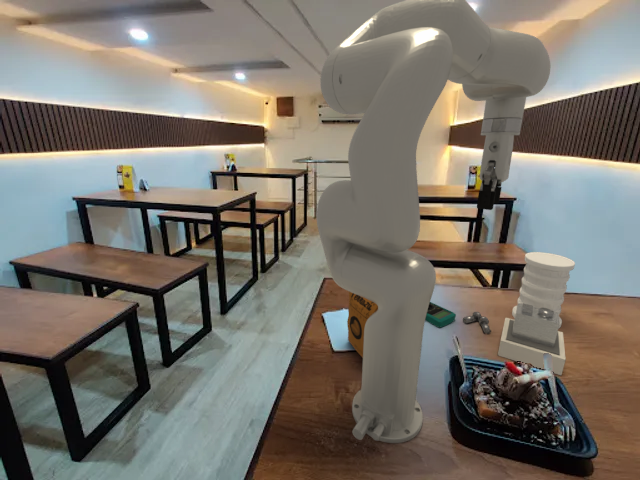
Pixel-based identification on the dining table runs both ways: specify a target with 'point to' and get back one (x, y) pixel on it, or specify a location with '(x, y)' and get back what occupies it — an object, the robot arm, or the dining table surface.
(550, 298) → the decorative container
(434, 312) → the digital multimeter
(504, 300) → the dining table surface
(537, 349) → the stand
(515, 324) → the housing
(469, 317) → the bolt
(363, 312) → the coffee package
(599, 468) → the dining table surface
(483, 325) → the bolt
